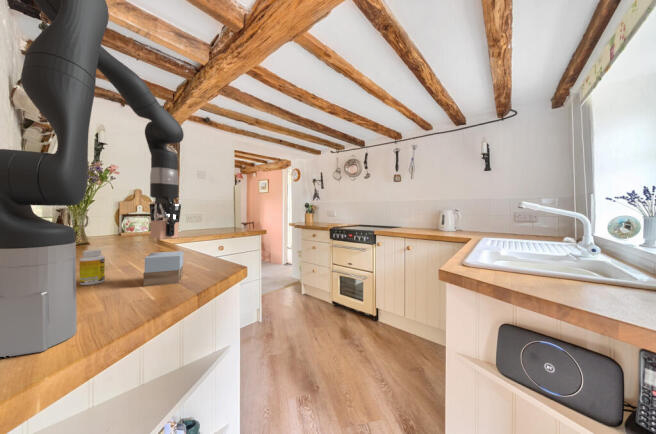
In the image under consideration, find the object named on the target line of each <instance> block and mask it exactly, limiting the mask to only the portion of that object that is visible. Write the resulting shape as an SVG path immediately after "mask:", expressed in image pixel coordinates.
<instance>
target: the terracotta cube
mask: <svg viewBox="0 0 656 434" xmlns="http://www.w3.org/2000/svg"><path fill="white" fill-rule="evenodd" d="M166 225H168V224H166V221H165V219H164V220H158V221H151V220H150V238H151V239H157V240H165V239H176V238H179V222H177V223H176V224H175V225H174V236H166Z"/></svg>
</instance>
